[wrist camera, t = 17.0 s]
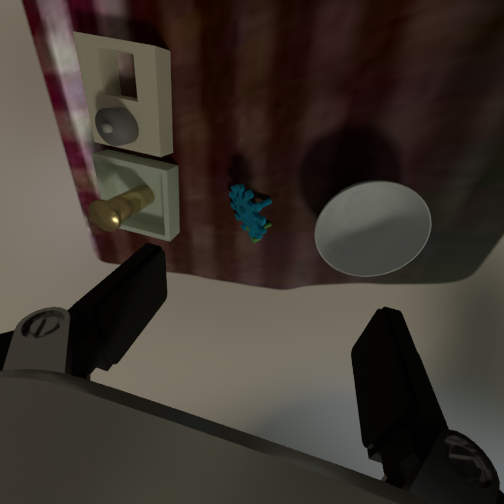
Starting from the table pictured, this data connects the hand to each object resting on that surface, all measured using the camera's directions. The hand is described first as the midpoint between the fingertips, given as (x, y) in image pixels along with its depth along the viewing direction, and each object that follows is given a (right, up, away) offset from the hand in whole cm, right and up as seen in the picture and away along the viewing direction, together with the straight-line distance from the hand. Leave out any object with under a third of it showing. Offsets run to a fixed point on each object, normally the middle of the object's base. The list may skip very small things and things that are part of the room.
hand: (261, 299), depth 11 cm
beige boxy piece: (-19, +27, +29) cm, 44 cm away
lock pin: (-21, +13, +37) cm, 45 cm away
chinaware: (+18, +9, +30) cm, 36 cm away
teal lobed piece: (0, +11, +34) cm, 36 cm away
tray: (-21, +14, +38) cm, 45 cm away
